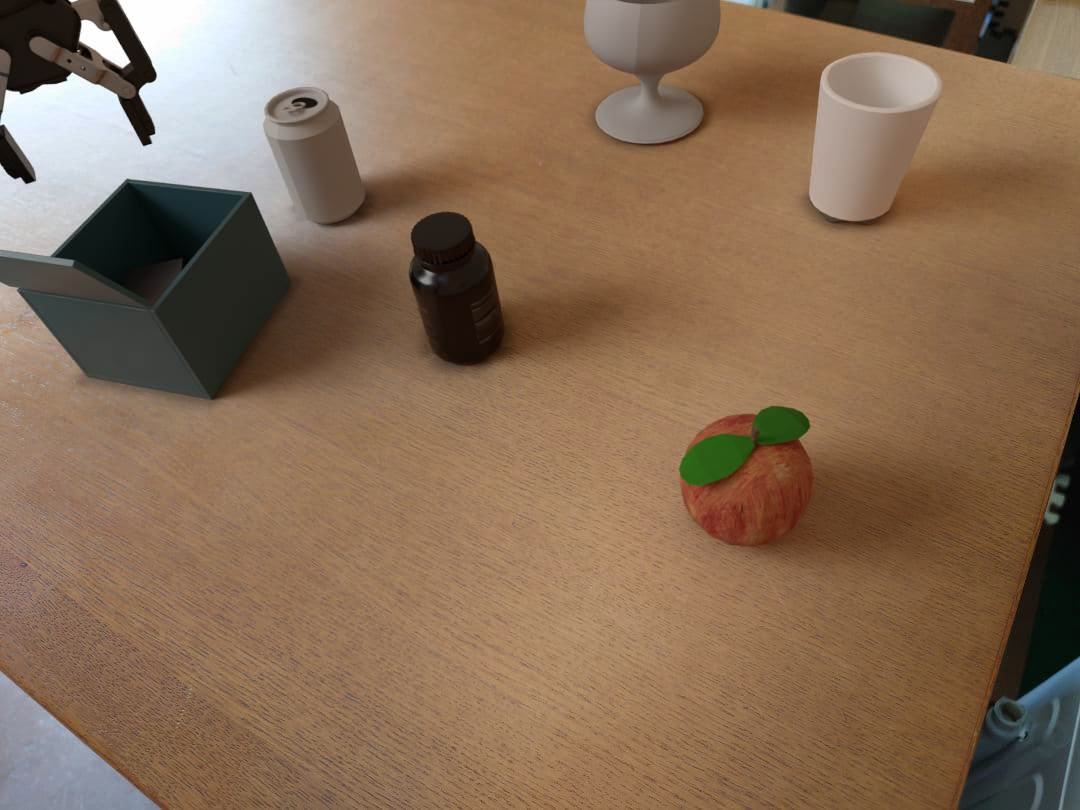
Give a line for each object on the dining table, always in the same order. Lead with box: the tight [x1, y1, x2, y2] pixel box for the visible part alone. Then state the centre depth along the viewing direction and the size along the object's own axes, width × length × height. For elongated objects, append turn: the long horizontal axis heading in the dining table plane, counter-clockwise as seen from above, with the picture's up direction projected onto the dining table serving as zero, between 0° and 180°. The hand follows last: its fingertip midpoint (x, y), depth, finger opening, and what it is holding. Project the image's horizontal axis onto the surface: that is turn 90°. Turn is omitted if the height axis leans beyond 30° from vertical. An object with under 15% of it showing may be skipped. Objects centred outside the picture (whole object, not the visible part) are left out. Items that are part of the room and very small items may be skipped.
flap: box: [0, 249, 149, 308], centre depth 56 cm, size 7×13×1 cm
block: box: [125, 258, 186, 307], centre depth 69 cm, size 5×5×9 cm
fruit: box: [678, 405, 815, 548], centre depth 51 cm, size 9×10×10 cm
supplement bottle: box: [408, 211, 506, 365], centre depth 64 cm, size 7×7×12 cm
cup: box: [808, 51, 944, 226], centre depth 71 cm, size 10×10×13 cm
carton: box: [16, 178, 292, 400], centre depth 68 cm, size 15×13×10 cm
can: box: [262, 86, 366, 225], centre depth 78 cm, size 8×8×12 cm
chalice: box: [583, 0, 722, 145], centre depth 83 cm, size 14×14×15 cm
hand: (90, 158), depth 58 cm, fingers open, 8 cm apart
